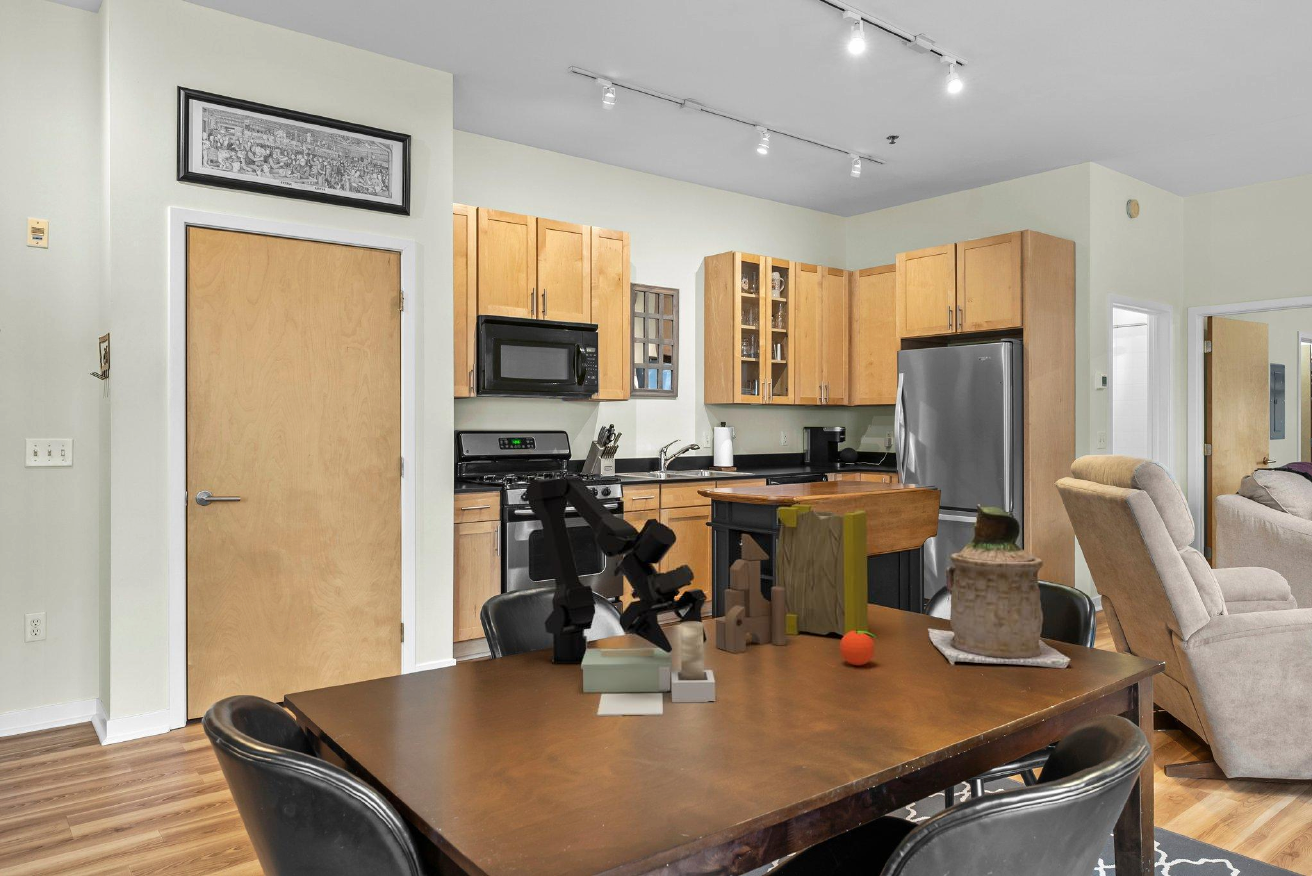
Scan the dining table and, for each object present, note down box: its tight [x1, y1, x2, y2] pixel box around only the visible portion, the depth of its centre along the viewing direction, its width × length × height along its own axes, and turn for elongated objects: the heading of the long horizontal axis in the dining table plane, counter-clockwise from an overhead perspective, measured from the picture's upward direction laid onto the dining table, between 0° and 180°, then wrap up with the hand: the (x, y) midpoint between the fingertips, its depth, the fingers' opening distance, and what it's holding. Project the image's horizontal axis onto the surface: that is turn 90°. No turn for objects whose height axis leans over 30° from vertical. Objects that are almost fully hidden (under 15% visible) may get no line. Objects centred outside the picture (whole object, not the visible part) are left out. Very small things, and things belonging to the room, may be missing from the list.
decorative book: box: [775, 504, 869, 637], centre depth 195 cm, size 20×11×30 cm, turn 58°
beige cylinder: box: [680, 621, 705, 680], centre depth 148 cm, size 4×4×13 cm
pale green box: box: [580, 647, 716, 703], centre depth 153 cm, size 24×18×6 cm
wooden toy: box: [715, 533, 787, 654], centre depth 183 cm, size 15×7×25 cm, turn 121°
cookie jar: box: [927, 503, 1071, 669], centre depth 176 cm, size 25×25×32 cm
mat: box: [596, 692, 664, 717], centre depth 143 cm, size 11×11×1 cm
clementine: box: [839, 630, 875, 667], centre depth 167 cm, size 8×7×7 cm
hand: (687, 646), depth 149 cm, fingers open, 9 cm apart
